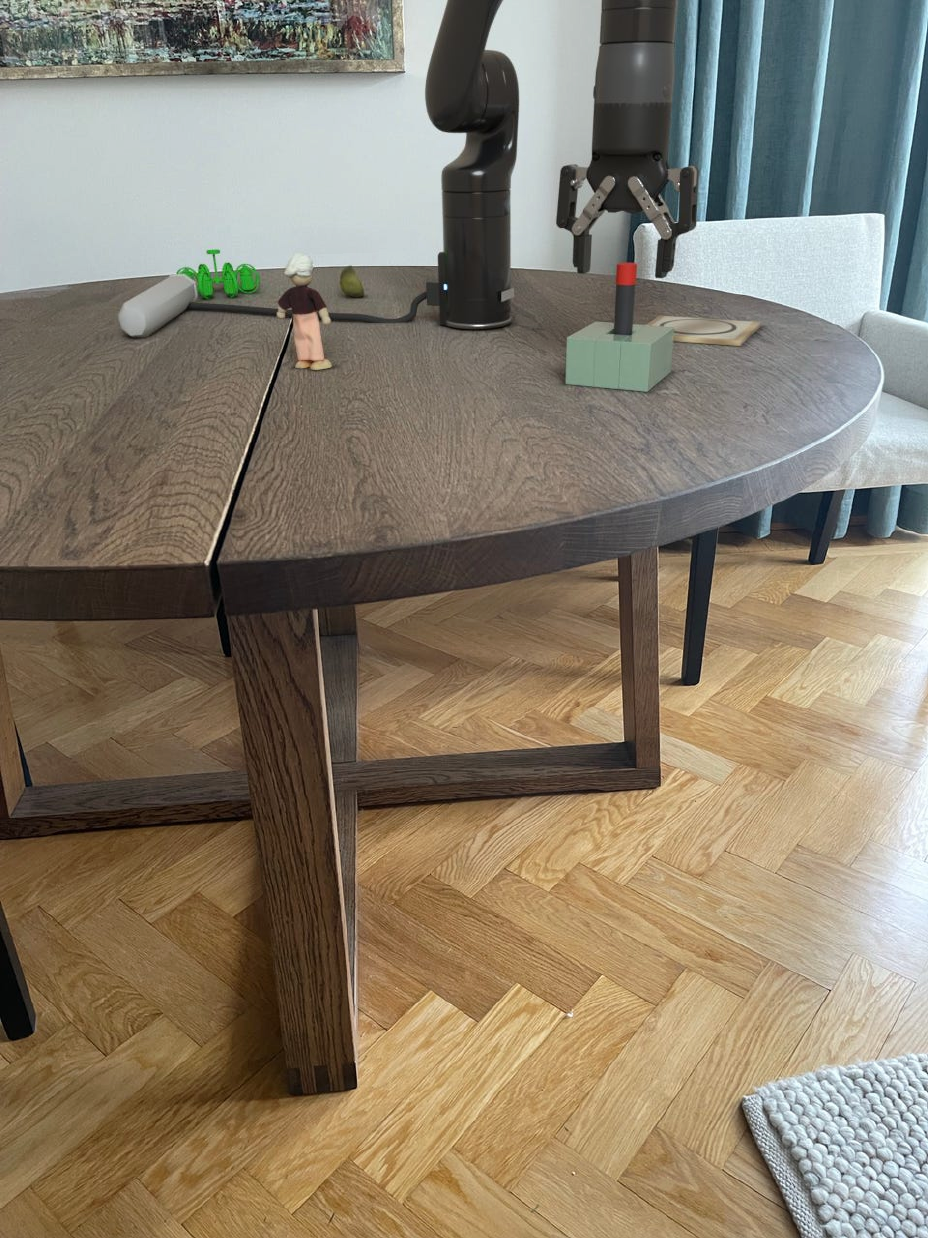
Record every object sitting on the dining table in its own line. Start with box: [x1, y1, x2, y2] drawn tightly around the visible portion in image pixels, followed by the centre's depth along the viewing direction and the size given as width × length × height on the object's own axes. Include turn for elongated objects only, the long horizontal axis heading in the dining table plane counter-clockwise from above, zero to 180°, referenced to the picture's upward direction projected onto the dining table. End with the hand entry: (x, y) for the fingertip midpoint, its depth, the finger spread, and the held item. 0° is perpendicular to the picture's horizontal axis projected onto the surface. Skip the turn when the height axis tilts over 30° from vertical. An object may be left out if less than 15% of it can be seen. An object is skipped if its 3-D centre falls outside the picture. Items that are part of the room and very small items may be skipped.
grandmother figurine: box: [276, 253, 333, 371], centre depth 108 cm, size 8×4×13 cm, turn 71°
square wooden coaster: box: [645, 315, 762, 347], centre depth 123 cm, size 14×13×1 cm
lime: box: [339, 265, 365, 298], centre depth 152 cm, size 4×5×5 cm
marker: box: [613, 261, 638, 336], centre depth 100 cm, size 2×2×12 cm
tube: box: [117, 273, 199, 339], centre depth 137 cm, size 5×5×25 cm
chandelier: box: [175, 249, 261, 300], centre depth 159 cm, size 15×15×7 cm
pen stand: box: [565, 321, 674, 393], centre depth 102 cm, size 9×9×5 cm
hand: (621, 274), depth 98 cm, fingers open, 8 cm apart
